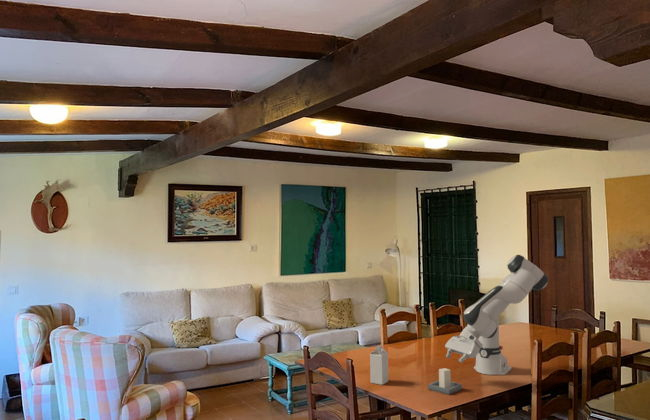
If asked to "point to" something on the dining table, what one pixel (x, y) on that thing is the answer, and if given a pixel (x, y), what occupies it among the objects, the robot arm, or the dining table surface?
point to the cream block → (444, 378)
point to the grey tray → (453, 389)
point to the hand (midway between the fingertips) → (453, 359)
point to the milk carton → (379, 366)
